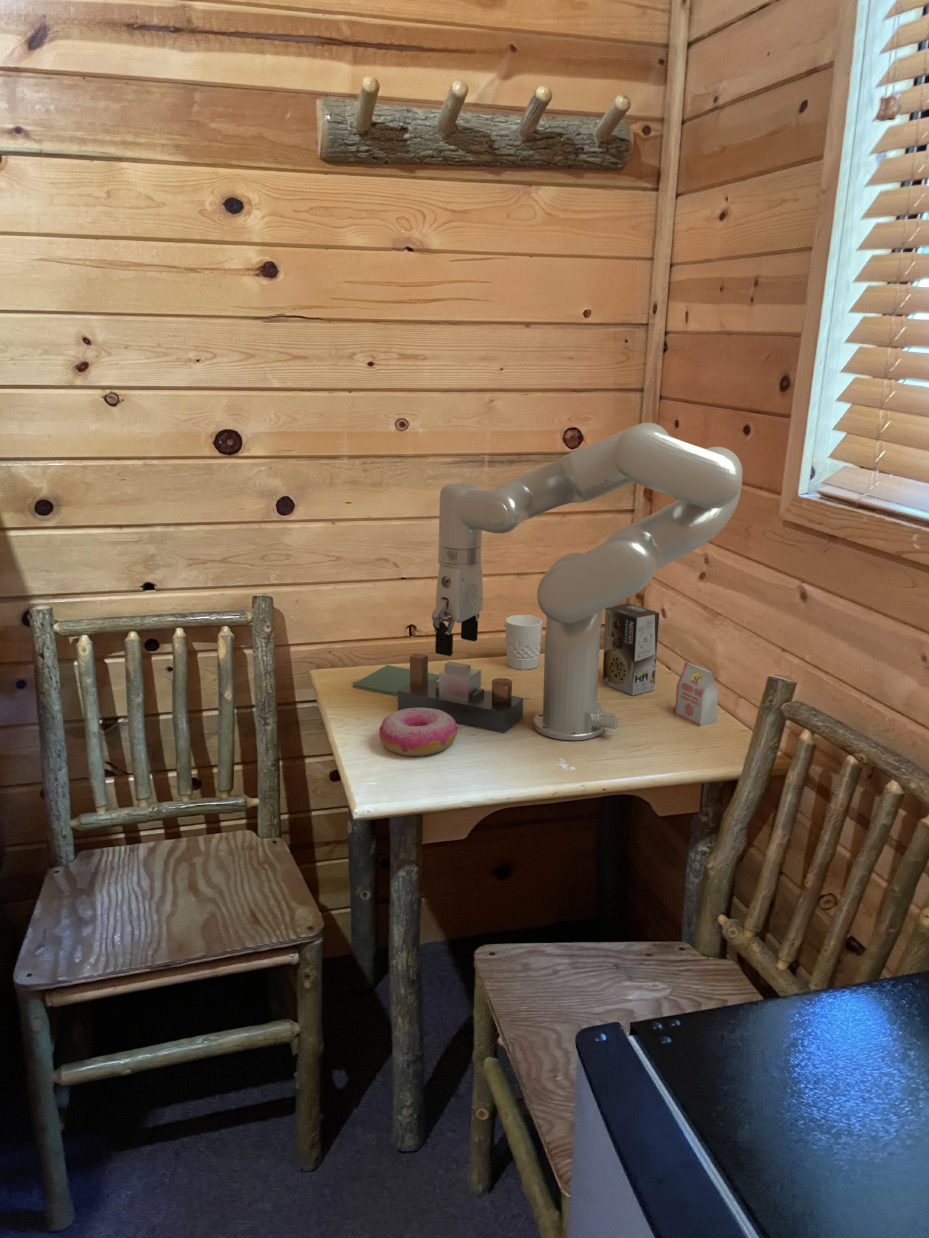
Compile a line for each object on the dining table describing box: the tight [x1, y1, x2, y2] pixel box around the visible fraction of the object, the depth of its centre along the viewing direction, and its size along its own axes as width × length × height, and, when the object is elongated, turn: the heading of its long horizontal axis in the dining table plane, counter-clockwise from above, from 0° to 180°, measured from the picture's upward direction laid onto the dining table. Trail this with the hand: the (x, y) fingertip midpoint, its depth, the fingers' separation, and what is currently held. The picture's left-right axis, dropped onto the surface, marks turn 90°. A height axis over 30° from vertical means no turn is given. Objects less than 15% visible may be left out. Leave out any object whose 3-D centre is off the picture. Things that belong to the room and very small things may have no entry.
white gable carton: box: [674, 661, 719, 727], centre depth 169 cm, size 4×7×10 cm, turn 30°
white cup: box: [504, 614, 544, 671], centre depth 197 cm, size 8×8×10 cm
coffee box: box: [601, 602, 660, 697], centre depth 183 cm, size 9×6×16 cm
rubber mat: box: [352, 664, 439, 697], centre depth 187 cm, size 13×13×1 cm
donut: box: [378, 708, 458, 757], centre depth 158 cm, size 14×13×5 cm
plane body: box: [397, 653, 524, 734], centre depth 170 cm, size 22×8×10 cm, turn 63°
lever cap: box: [438, 660, 482, 701], centre depth 169 cm, size 6×5×6 cm
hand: (456, 646), depth 168 cm, fingers open, 9 cm apart
